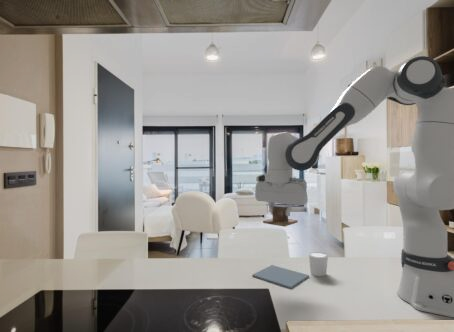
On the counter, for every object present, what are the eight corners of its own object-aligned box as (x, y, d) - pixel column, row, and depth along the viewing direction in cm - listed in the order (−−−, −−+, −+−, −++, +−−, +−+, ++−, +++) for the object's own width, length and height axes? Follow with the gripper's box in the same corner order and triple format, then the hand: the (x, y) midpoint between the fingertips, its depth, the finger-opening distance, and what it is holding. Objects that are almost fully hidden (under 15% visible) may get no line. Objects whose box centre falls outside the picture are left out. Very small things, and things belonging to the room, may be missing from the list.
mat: (309, 276, 106) (309, 275, 106) (291, 288, 96) (291, 287, 96) (272, 266, 116) (272, 265, 116) (252, 276, 107) (252, 274, 107)
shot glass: (305, 271, 111) (304, 253, 110) (318, 268, 114) (318, 250, 113) (317, 278, 104) (317, 258, 104) (332, 274, 107) (332, 256, 107)
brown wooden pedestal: (297, 222, 106) (297, 206, 106) (284, 226, 99) (284, 209, 99) (276, 219, 112) (276, 204, 112) (263, 222, 105) (262, 207, 105)
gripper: (310, 177, 101) (310, 217, 101) (262, 176, 115) (262, 211, 115) (302, 178, 96) (302, 220, 96) (252, 176, 110) (252, 213, 110)
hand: (280, 215), depth 106 cm, fingers closed on brown wooden pedestal, 4 cm apart
